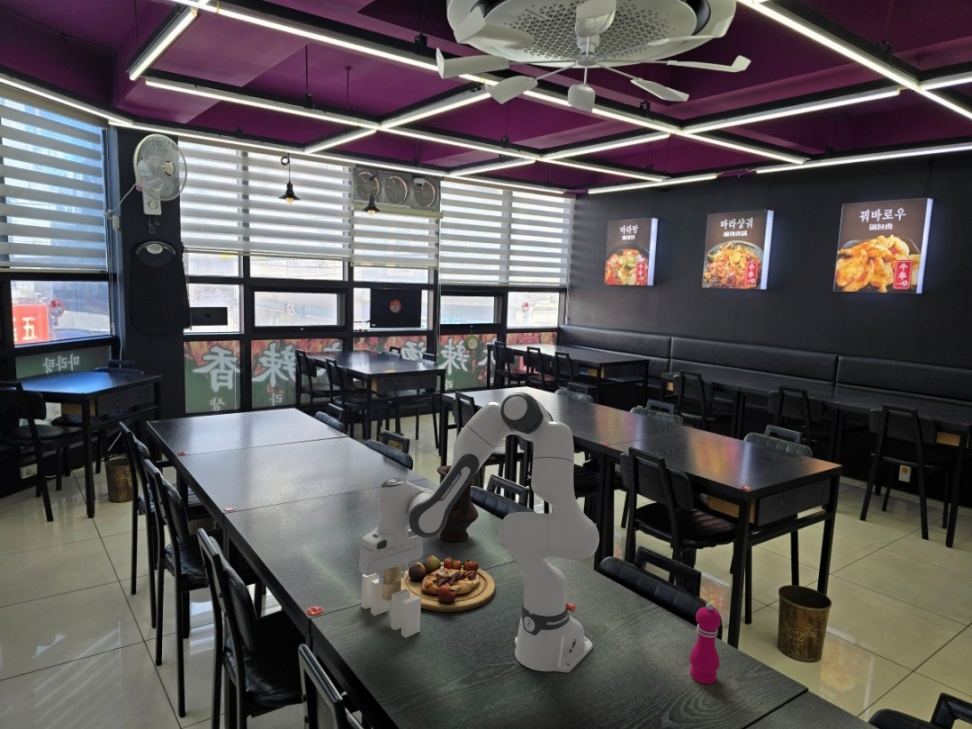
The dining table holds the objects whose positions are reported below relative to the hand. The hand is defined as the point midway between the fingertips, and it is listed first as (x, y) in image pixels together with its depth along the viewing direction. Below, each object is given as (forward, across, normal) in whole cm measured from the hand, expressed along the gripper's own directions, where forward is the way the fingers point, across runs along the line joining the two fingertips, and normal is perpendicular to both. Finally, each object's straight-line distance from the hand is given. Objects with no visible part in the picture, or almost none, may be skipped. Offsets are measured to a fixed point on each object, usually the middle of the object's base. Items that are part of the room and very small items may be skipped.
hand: (391, 580), depth 182 cm
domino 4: (+12, 0, +5) cm, 13 cm away
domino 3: (+5, 0, 0) cm, 5 cm away
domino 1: (+12, +1, -10) cm, 15 cm away
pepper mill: (+12, -45, +74) cm, 87 cm away
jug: (+12, -52, -32) cm, 62 cm away
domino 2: (+12, +1, -5) cm, 12 cm away
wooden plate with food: (+12, -24, -4) cm, 27 cm away
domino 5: (+11, 0, +10) cm, 15 cm away
